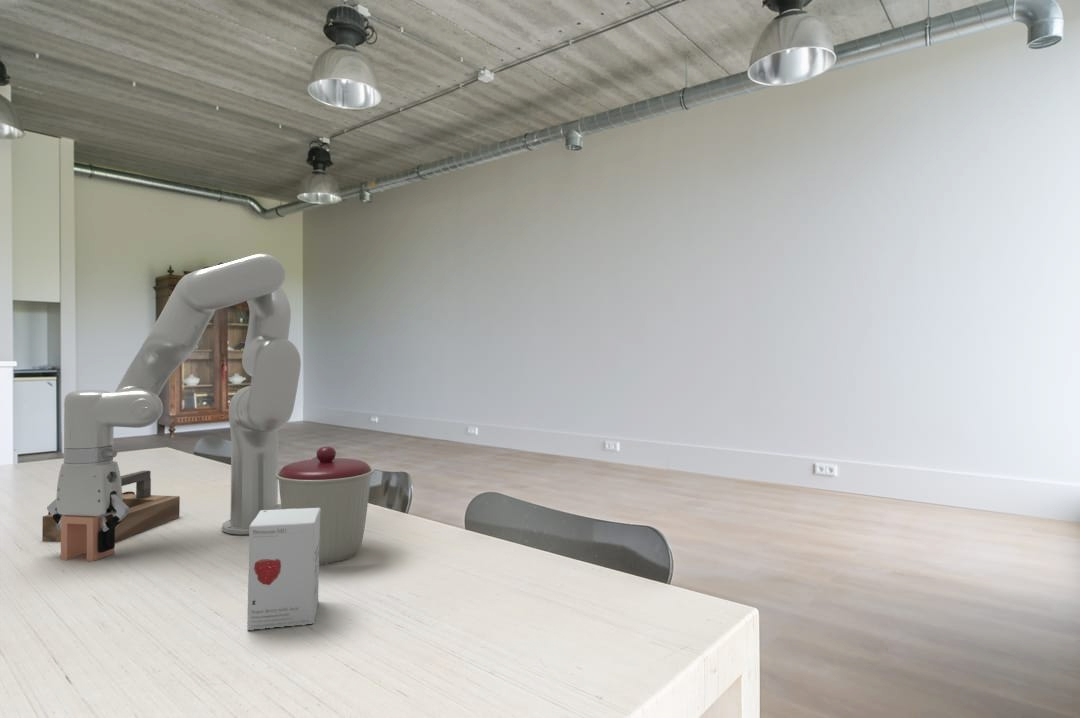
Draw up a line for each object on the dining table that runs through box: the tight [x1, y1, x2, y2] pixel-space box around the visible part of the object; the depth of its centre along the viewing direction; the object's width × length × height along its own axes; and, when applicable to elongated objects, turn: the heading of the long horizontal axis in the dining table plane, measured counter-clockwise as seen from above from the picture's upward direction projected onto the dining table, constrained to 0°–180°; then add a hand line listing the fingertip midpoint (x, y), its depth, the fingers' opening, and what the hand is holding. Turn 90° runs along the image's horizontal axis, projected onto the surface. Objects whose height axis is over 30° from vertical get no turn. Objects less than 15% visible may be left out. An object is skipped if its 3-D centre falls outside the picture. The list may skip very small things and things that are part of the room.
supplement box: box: [246, 508, 321, 631], centre depth 89 cm, size 9×9×15 cm
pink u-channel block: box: [60, 512, 115, 562], centre depth 113 cm, size 6×5×8 cm
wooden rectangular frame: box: [41, 470, 181, 543], centre depth 131 cm, size 15×20×11 cm
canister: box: [275, 446, 376, 565], centre depth 115 cm, size 18×18×21 cm
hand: (87, 548), depth 113 cm, fingers open, 6 cm apart
